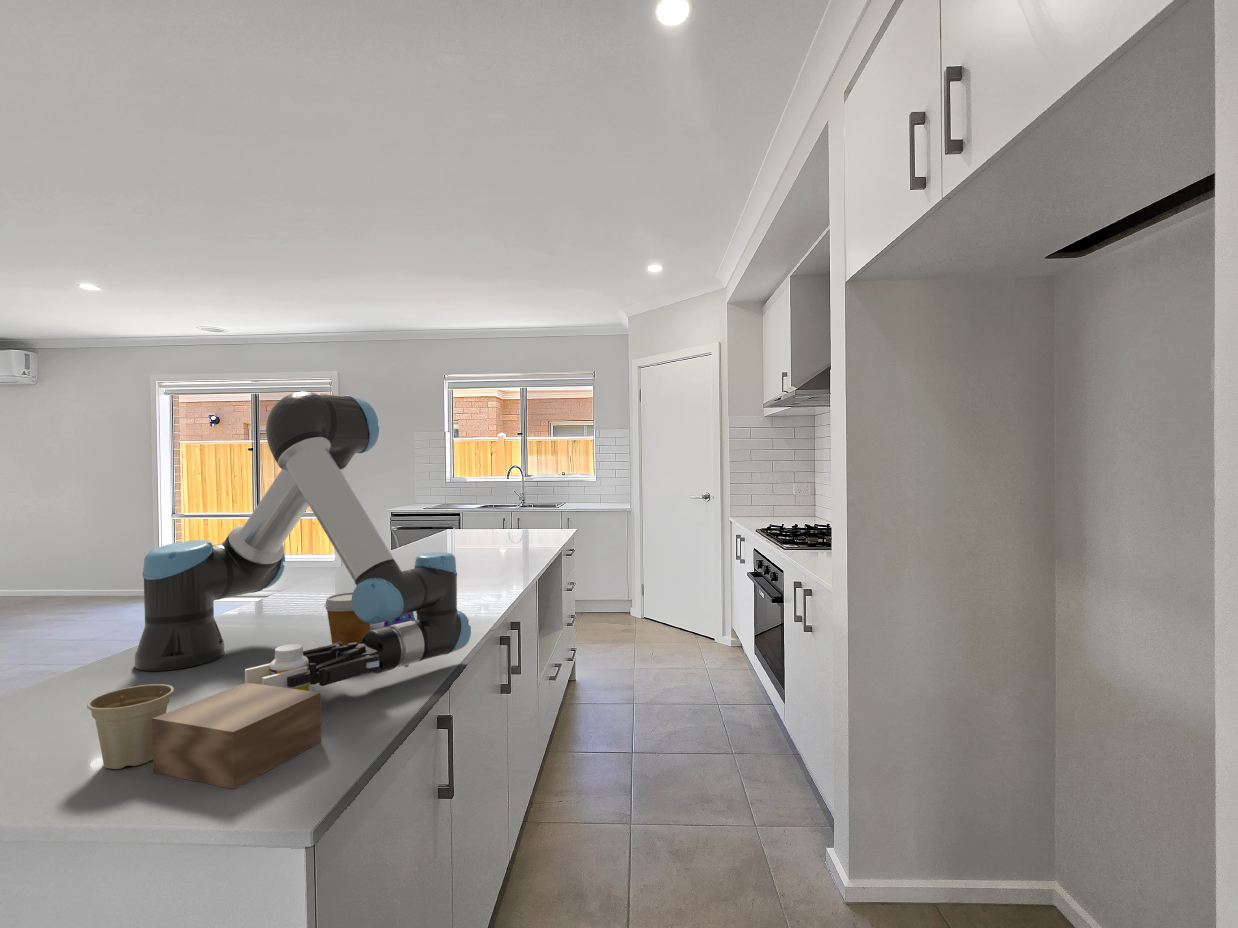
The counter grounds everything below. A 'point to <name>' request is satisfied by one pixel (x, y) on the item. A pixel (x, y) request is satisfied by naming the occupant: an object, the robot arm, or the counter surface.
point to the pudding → (400, 620)
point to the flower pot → (128, 722)
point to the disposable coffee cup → (344, 620)
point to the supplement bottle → (289, 660)
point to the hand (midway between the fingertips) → (254, 682)
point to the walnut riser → (236, 734)
